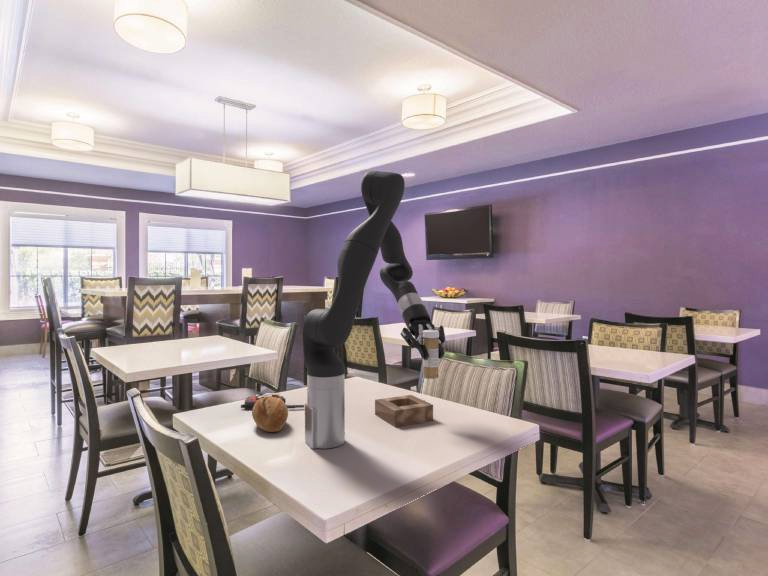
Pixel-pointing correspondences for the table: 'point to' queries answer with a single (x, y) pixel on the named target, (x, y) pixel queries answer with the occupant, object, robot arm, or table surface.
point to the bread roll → (270, 414)
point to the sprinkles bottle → (431, 354)
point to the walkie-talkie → (252, 400)
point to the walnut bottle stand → (403, 410)
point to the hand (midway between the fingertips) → (434, 357)
